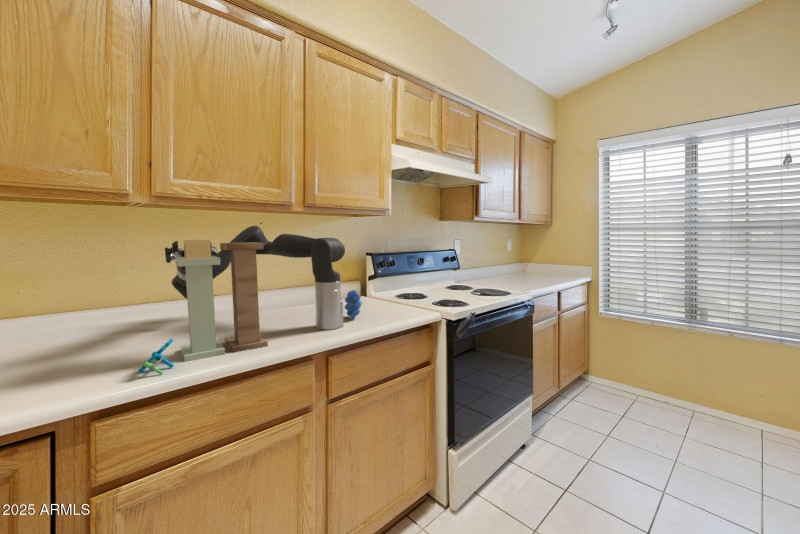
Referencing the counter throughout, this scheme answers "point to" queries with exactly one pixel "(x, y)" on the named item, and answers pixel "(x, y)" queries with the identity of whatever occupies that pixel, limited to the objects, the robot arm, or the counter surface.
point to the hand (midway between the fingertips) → (192, 243)
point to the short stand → (200, 308)
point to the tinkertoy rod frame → (158, 357)
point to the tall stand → (244, 296)
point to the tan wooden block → (197, 249)
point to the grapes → (353, 303)
